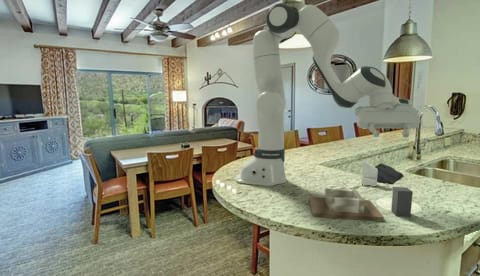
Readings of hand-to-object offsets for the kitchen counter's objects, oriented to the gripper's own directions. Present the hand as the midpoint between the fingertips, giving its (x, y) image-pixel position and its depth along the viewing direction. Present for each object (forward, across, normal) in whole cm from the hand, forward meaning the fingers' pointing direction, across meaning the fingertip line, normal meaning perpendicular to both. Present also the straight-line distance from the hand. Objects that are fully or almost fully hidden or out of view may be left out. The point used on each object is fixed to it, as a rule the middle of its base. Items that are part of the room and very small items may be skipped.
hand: (391, 136), depth 94 cm
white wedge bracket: (+4, -1, +29) cm, 29 cm away
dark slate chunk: (-6, +8, +40) cm, 41 cm away
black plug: (+25, 0, +7) cm, 26 cm away
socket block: (+24, -17, +8) cm, 31 cm away
